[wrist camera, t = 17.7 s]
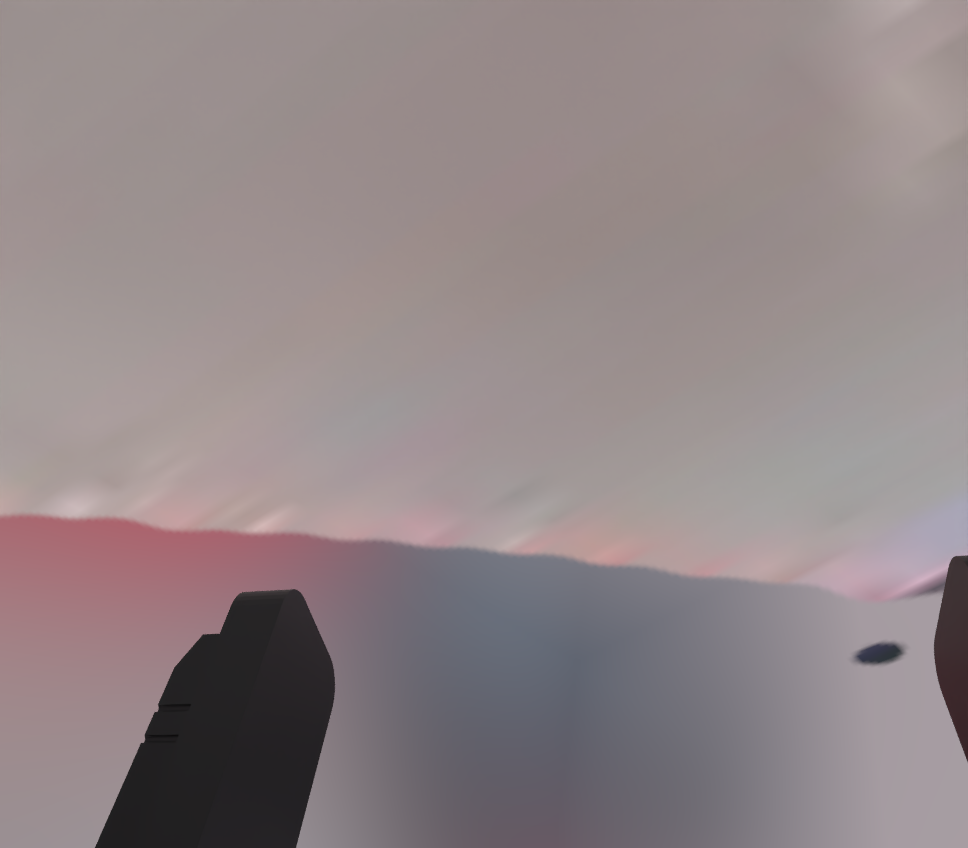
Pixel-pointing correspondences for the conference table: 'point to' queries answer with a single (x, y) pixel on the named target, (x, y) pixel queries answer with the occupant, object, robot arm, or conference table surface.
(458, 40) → the conference table surface
